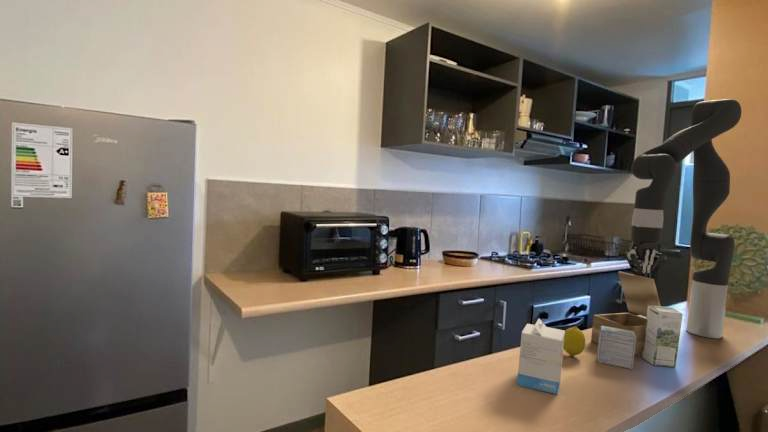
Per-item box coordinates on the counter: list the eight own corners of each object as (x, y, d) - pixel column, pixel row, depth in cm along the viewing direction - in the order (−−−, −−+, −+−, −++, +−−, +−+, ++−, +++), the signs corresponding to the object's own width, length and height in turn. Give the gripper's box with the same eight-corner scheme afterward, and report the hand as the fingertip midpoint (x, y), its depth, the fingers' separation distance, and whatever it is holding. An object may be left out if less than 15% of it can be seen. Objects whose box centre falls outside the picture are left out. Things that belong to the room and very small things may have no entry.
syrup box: (663, 359, 112) (669, 306, 111) (676, 368, 106) (683, 312, 105) (641, 356, 113) (647, 304, 112) (653, 366, 107) (659, 310, 106)
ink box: (557, 395, 87) (564, 333, 86) (516, 384, 91) (521, 324, 90) (560, 380, 95) (566, 322, 94) (522, 370, 99) (527, 315, 98)
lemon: (557, 355, 109) (560, 325, 109) (565, 350, 113) (568, 321, 113) (579, 362, 106) (582, 331, 105) (586, 357, 110) (589, 327, 109)
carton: (625, 338, 127) (627, 312, 127) (660, 352, 117) (663, 324, 117) (590, 341, 122) (593, 314, 122) (624, 356, 112) (628, 327, 111)
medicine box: (630, 363, 107) (634, 330, 107) (633, 370, 103) (636, 336, 103) (596, 356, 111) (599, 324, 110) (597, 362, 107) (600, 329, 106)
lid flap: (628, 311, 127) (630, 310, 127) (663, 322, 117) (664, 321, 117) (617, 272, 123) (619, 271, 124) (652, 280, 114) (654, 279, 114)
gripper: (650, 224, 124) (644, 281, 126) (618, 223, 120) (612, 282, 121) (676, 227, 118) (669, 287, 119) (643, 226, 113) (636, 289, 114)
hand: (640, 285), depth 120 cm, fingers closed
